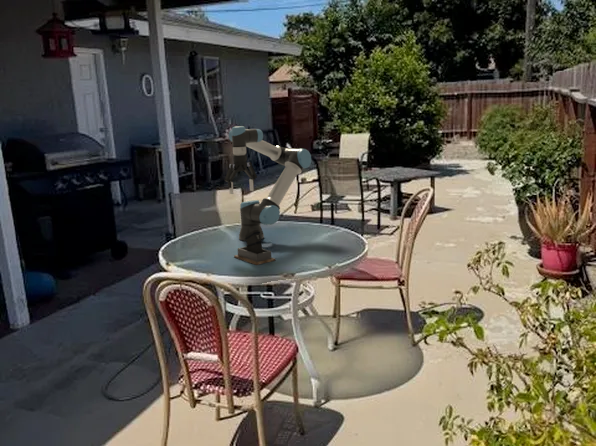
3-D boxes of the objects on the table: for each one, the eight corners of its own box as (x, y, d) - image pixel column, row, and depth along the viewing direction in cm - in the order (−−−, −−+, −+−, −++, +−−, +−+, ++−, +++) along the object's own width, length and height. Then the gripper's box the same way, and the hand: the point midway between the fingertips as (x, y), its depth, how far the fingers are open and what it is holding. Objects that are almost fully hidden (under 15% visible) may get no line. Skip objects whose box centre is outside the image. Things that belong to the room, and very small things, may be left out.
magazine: (260, 258, 285) (253, 230, 287) (249, 264, 296) (242, 237, 298) (267, 256, 287) (259, 229, 289) (255, 262, 298) (248, 236, 300)
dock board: (252, 253, 306) (252, 251, 306) (275, 260, 290) (275, 258, 290) (234, 257, 299) (234, 255, 298) (256, 265, 283) (256, 263, 282)
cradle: (251, 252, 304) (251, 245, 303) (271, 258, 290) (271, 251, 289) (237, 255, 298) (237, 248, 297) (257, 262, 284) (256, 254, 284)
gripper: (224, 156, 300) (226, 195, 304) (261, 153, 315) (263, 190, 319) (216, 156, 305) (219, 194, 310) (254, 152, 321) (256, 189, 325)
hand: (241, 192), depth 314 cm, fingers open, 13 cm apart
